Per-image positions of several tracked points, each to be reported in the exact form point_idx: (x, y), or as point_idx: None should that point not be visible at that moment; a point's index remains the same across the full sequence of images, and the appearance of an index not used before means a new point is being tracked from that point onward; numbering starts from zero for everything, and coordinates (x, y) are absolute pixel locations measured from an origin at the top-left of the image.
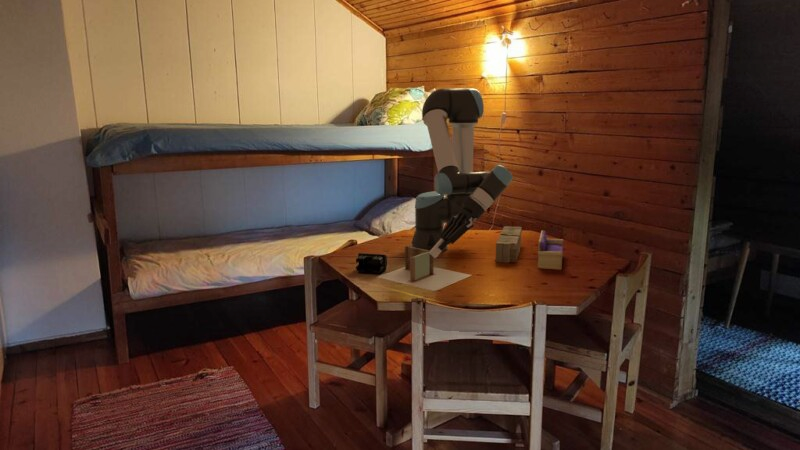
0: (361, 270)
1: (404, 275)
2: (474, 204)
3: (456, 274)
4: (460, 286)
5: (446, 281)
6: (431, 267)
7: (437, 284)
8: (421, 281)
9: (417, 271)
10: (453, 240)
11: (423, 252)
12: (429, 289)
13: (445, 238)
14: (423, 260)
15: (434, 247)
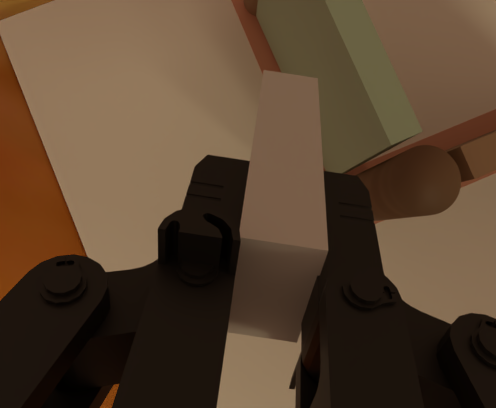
0: None
1: (413, 23)
2: None
3: (248, 374)
4: (15, 253)
5: (137, 211)
6: None
7: (112, 118)
8: (229, 56)
9: (273, 14)
10: (63, 395)
11: (488, 134)
12: (45, 13)
13: (178, 270)
14: (324, 62)
15: (284, 122)
